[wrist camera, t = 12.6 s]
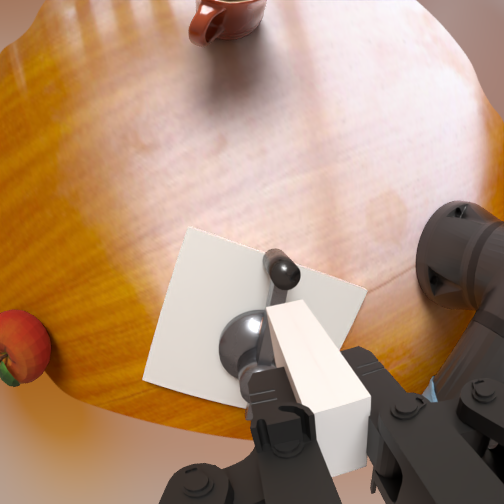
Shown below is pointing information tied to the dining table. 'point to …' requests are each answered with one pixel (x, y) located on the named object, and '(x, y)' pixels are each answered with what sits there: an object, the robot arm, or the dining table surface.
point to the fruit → (22, 347)
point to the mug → (224, 20)
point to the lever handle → (257, 327)
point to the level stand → (229, 312)
